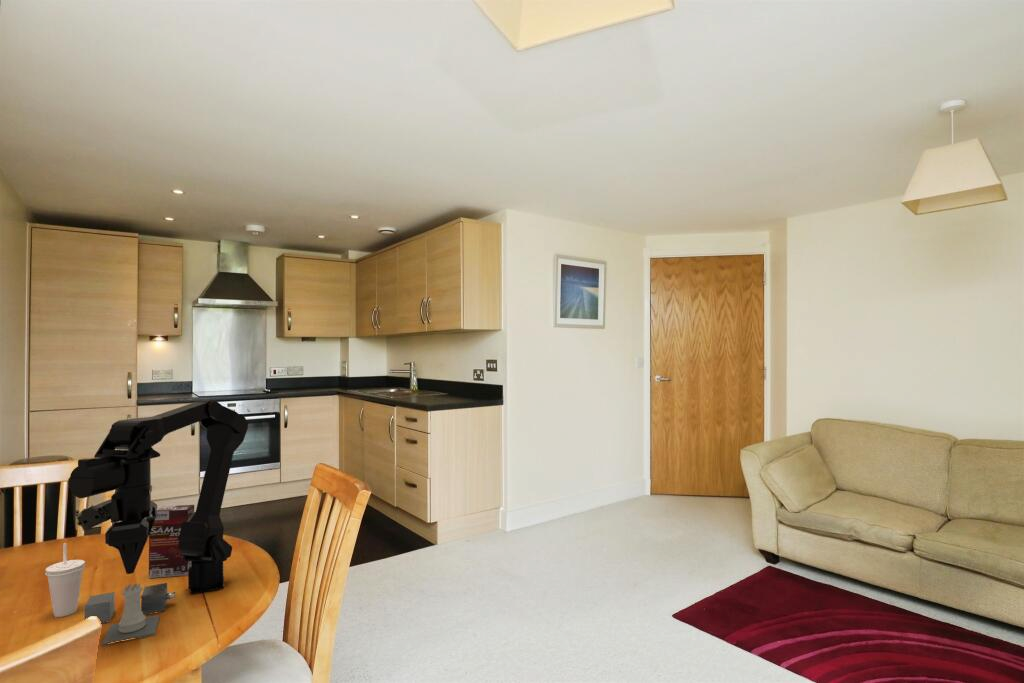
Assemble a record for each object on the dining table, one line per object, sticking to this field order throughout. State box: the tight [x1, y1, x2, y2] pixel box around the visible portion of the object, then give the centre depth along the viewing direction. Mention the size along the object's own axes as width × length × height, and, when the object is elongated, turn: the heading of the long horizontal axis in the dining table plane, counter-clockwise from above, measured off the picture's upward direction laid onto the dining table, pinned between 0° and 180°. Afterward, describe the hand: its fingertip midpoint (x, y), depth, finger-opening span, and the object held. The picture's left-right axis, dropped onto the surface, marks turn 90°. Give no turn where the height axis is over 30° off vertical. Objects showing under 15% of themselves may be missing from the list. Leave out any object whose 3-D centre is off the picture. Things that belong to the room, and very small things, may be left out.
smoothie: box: [44, 542, 86, 618], centre depth 112 cm, size 6×6×14 cm
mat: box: [101, 614, 161, 647], centre depth 104 cm, size 8×8×1 cm
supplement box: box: [148, 504, 195, 579], centre depth 132 cm, size 9×5×16 cm, turn 101°
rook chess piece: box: [118, 583, 147, 634], centre depth 104 cm, size 4×4×8 cm
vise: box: [84, 582, 176, 624], centre depth 112 cm, size 15×5×4 cm, turn 117°
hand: (133, 565), depth 106 cm, fingers open, 9 cm apart
